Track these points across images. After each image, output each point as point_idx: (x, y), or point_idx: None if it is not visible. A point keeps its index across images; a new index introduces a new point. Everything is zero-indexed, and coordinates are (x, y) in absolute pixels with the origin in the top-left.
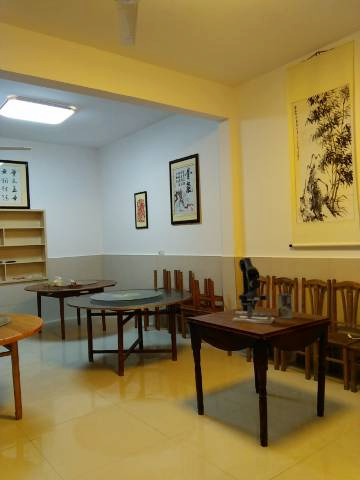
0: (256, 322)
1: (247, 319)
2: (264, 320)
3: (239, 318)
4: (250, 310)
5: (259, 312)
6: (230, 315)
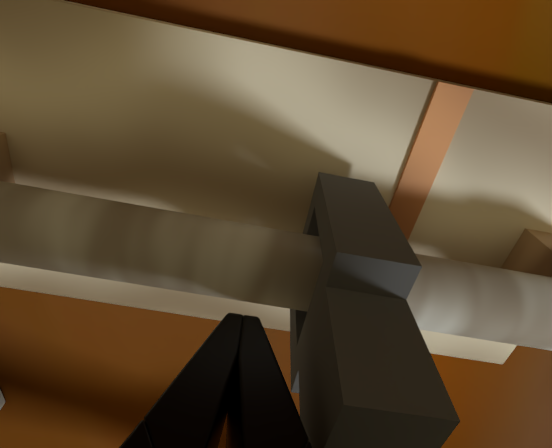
0: (197, 29)
1: (373, 136)
2: (33, 58)
3: (509, 211)
4: (325, 283)
5: (104, 248)
6: (539, 435)
